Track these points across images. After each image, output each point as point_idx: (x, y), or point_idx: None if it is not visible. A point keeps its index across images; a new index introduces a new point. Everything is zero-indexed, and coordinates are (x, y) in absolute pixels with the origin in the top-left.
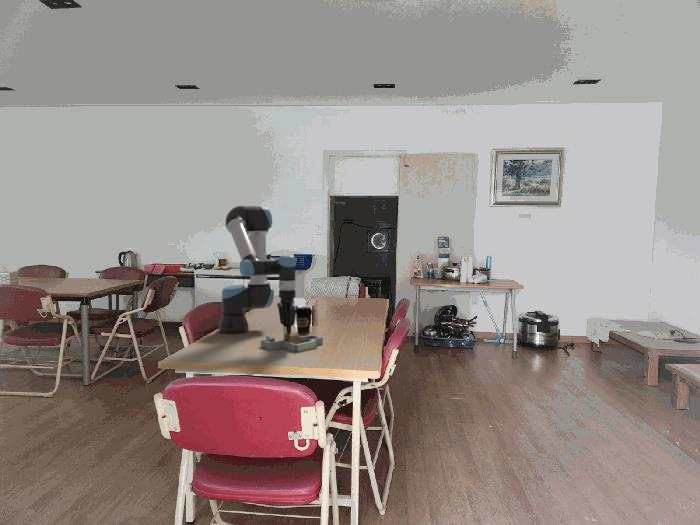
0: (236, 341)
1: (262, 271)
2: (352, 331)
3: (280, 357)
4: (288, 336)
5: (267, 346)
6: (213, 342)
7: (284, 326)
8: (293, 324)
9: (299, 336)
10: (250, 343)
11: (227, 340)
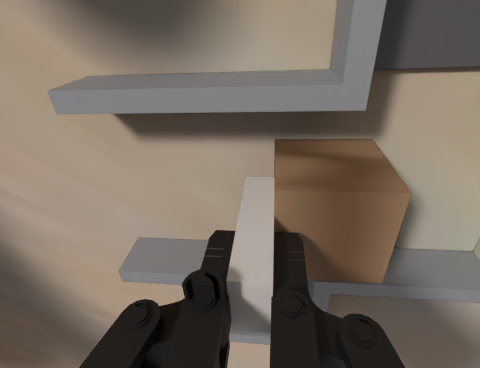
0: (54, 312)
1: None
2: None
3: (467, 350)
4: (343, 273)
5: None
6: (41, 357)
7: (243, 329)
8: (379, 338)
9: (316, 104)
10: (123, 299)
11: (21, 322)
